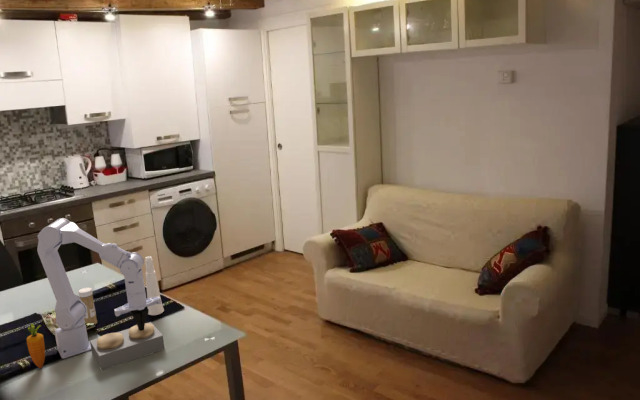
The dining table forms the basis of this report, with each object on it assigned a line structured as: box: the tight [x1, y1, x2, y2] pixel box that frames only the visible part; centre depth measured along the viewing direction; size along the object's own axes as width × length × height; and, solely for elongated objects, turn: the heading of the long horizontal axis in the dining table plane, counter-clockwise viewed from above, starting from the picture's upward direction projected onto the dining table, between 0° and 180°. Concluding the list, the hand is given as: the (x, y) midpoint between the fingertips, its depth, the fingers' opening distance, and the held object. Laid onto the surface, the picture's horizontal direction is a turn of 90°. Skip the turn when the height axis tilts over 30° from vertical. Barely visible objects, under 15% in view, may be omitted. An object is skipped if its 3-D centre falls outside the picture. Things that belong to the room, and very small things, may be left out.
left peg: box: [96, 332, 124, 350], centre depth 178 cm, size 8×8×6 cm
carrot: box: [26, 323, 46, 369], centre depth 172 cm, size 5×5×15 cm
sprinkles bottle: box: [78, 287, 98, 325], centre depth 200 cm, size 5×5×14 cm
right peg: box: [128, 322, 155, 339], centre depth 183 cm, size 8×8×6 cm
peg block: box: [89, 321, 166, 371], centre depth 181 cm, size 20×12×5 cm, turn 125°
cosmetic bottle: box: [144, 255, 165, 316], centre depth 206 cm, size 6×6×22 cm
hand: (141, 329), depth 183 cm, fingers closed, pressing on right peg
